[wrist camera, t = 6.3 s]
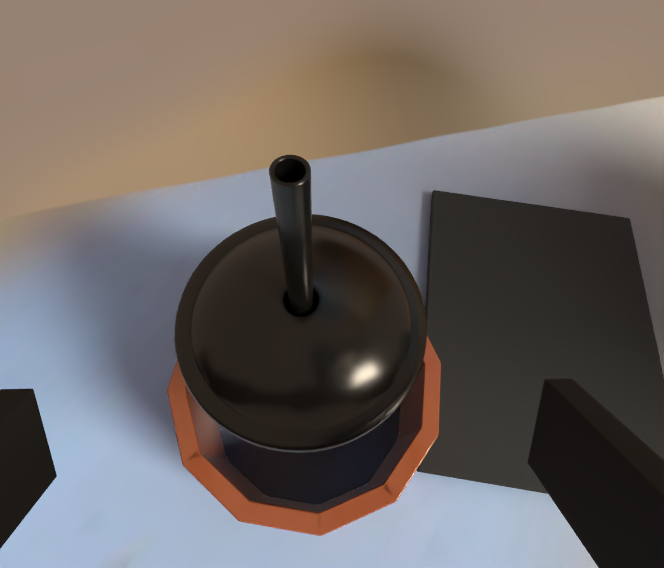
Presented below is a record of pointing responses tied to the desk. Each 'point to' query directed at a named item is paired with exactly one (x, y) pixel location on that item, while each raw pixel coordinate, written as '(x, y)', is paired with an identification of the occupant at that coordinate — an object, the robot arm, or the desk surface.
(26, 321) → the desk surface
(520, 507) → the desk surface
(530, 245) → the mat
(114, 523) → the desk surface
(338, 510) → the pot
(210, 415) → the drinking cup
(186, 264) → the desk surface
